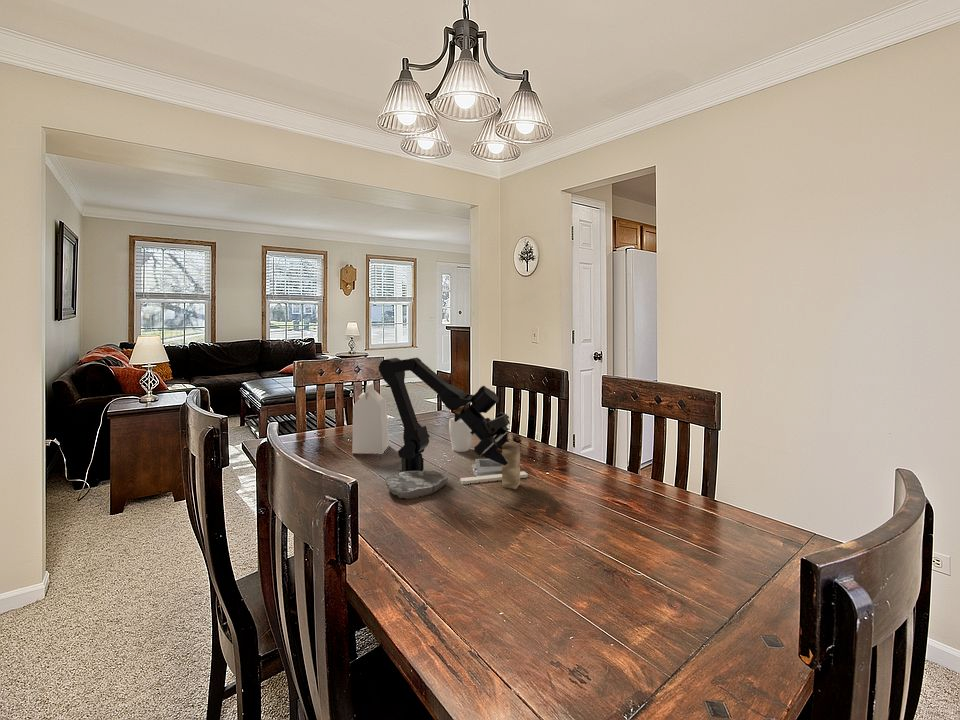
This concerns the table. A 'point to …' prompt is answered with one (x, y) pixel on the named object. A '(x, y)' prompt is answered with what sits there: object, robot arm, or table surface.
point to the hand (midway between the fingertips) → (510, 460)
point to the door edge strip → (487, 478)
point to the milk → (370, 423)
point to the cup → (459, 435)
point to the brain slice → (415, 483)
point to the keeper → (486, 467)
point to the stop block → (511, 465)
